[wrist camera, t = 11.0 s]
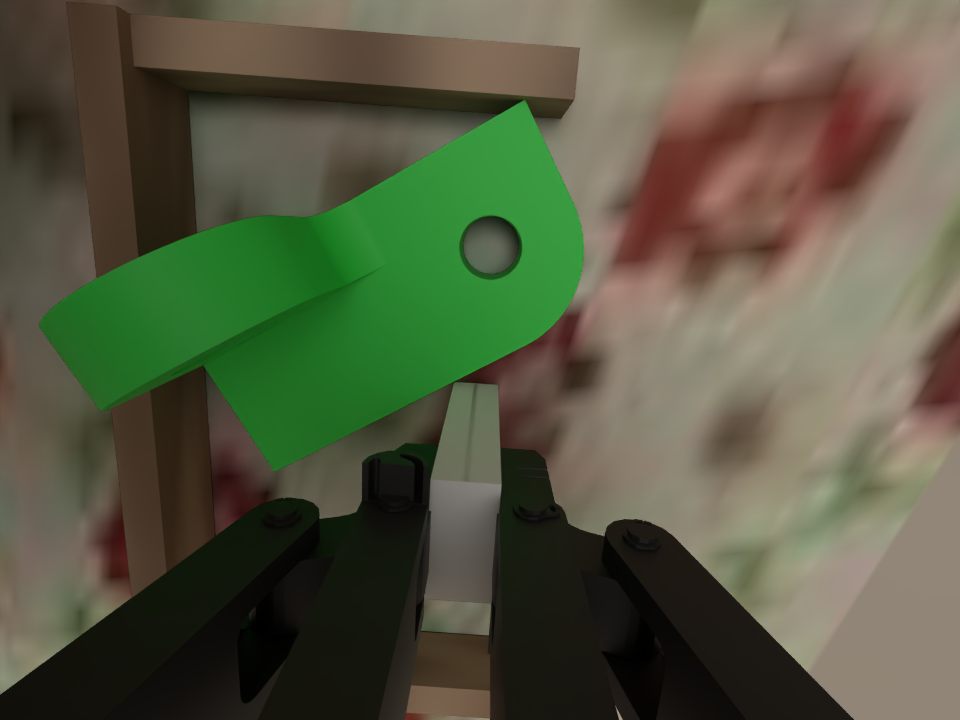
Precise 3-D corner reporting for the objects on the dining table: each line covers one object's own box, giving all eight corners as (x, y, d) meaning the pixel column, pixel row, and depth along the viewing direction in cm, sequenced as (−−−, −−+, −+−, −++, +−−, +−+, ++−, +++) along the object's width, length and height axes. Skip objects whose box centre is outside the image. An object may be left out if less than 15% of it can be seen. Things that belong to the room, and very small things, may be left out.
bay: (191, 640, 21) (144, 707, 18) (144, 43, 16) (66, 1, 13) (505, 663, 21) (508, 732, 18) (565, 75, 16) (583, 41, 13)
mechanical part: (297, 446, 19) (158, 601, 11) (200, 298, 18) (-32, 355, 10) (603, 290, 17) (694, 343, 9) (521, 115, 16) (546, 8, 8)
